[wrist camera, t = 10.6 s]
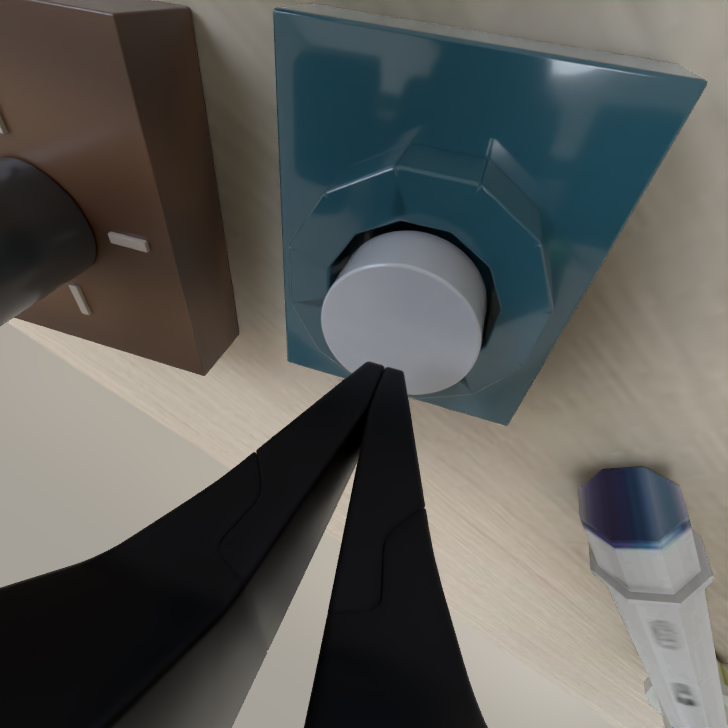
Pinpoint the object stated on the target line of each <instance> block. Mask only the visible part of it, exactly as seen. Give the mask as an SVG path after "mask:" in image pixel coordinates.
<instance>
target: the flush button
mask: <svg viewBox="0 0 728 728" xmlns="http://www.w3.org/2000/svg"><path fill="white" fill-rule="evenodd" d="M486 307H487V294H486V288H485V284H484V281H483V279H482V276H481V274H480V272H479V271H478V269H477V267H476V266H475V264H474V263H473V262H472V260H471V259H470V258H469V257H468V256H467V255H466V254H465V253H464V252H463V251H462V250H460V249H459V248H458V247H457V246H455V245H454V244H452V243H450V242H449V241H447V240H445V239H443V238H440V237H438V236H436V235H432V234H429V233H425V232H420V231H408V230H404V231H393V232H389V233H384V234H381V235H379V236H376V237H374V238H372V239H370V240H368V241H367V242H365V243H364V244H363V245H361V246H360V247H359V248H358V249H357V250H356V251H355V252H354V253H353V254H352V256H351V257H350V259H349V260H348V261H347V263H346V265H345V266H344V268H343V269H342V271H341V272H340V274H339V275H338V277H337V278H336V280H335V281H334V283H333V284H332V286H331V287H330V289H329V291H328V292H327V294H326V296H325V298H324V302H323V305H322V311H321V325H322V331H323V335H324V337H325V340H326V343H327V345H328V347H329V349H330V350H331V352H332V353H333V355H334V356H335V357H336V359H337V360H338V361H339V362H340V363H341V364H342V365H343V366H344V367H345V368H346V369H347V370H348V371H349V372H351V373H353V372H354V371H355V370H357V369H358V368H359V367H360V366H362V365H363V364H364V363H365V362H368V361H370V362H374V363H377V364H381V365H383V366H384V367H385V368H386V367H391V368H395V369H398V370H402V371H403V372H404V375H405V381H406V388H407V394H408V395H421V394H429V393H434V392H438V391H441V390H444V389H446V388H448V387H450V386H452V385H454V384H456V383H457V382H459V381H460V380H461V379H463V378H464V377H465V376H466V375H467V374H468V373H469V372H470V370H471V369H472V368H473V366H474V365H475V363H476V361H477V359H478V356H479V353H480V350H481V343H482V336H483V329H484V321H485V314H486Z"/></svg>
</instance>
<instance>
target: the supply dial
mask: <svg viewBox="0 0 728 728" xmlns="http://www.w3.org/2000/svg"><path fill="white" fill-rule="evenodd" d="M95 257H96V244H95V239H94V236H93V233H92V231H91V228H90V226H89V224H88V222H87V220H86V219H85V217H84V215H83V214H82V212H81V211H80V209H79V208H78V207H77V205H76V204H75V203H74V201H73V200H72V199H71V198H70V197H69V195H68V194H67V193H66V192H65V191H64V190H63V189H62V188H61V187H60V186H59V185H58V184H57V183H56V182H54V181H53V180H52V179H51V178H50V177H48V176H47V175H46V174H45V173H43V172H42V171H40V170H39V169H37V168H35V167H34V166H32V165H30V164H28V163H26V162H24V161H22V160H19V159H15V158H11V157H0V326H1V325H3V324H4V323H6V322H7V321H9V320H11V319H12V318H14V317H15V316H17V315H18V314H20V313H21V312H23V311H24V310H26V309H27V308H29V307H30V306H32V305H34V304H35V303H37V302H38V301H40V300H41V299H43V298H44V297H46V296H47V295H49V294H50V293H52V292H53V291H55V290H56V289H58V288H60V287H61V286H63V285H64V284H66V283H67V282H69V281H70V280H72V279H73V278H75V277H76V276H78V275H79V274H81V273H83V272H84V271H86V270H87V269H89V268H90V267H91V266H92V264H93V263H94V261H95Z"/></svg>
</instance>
